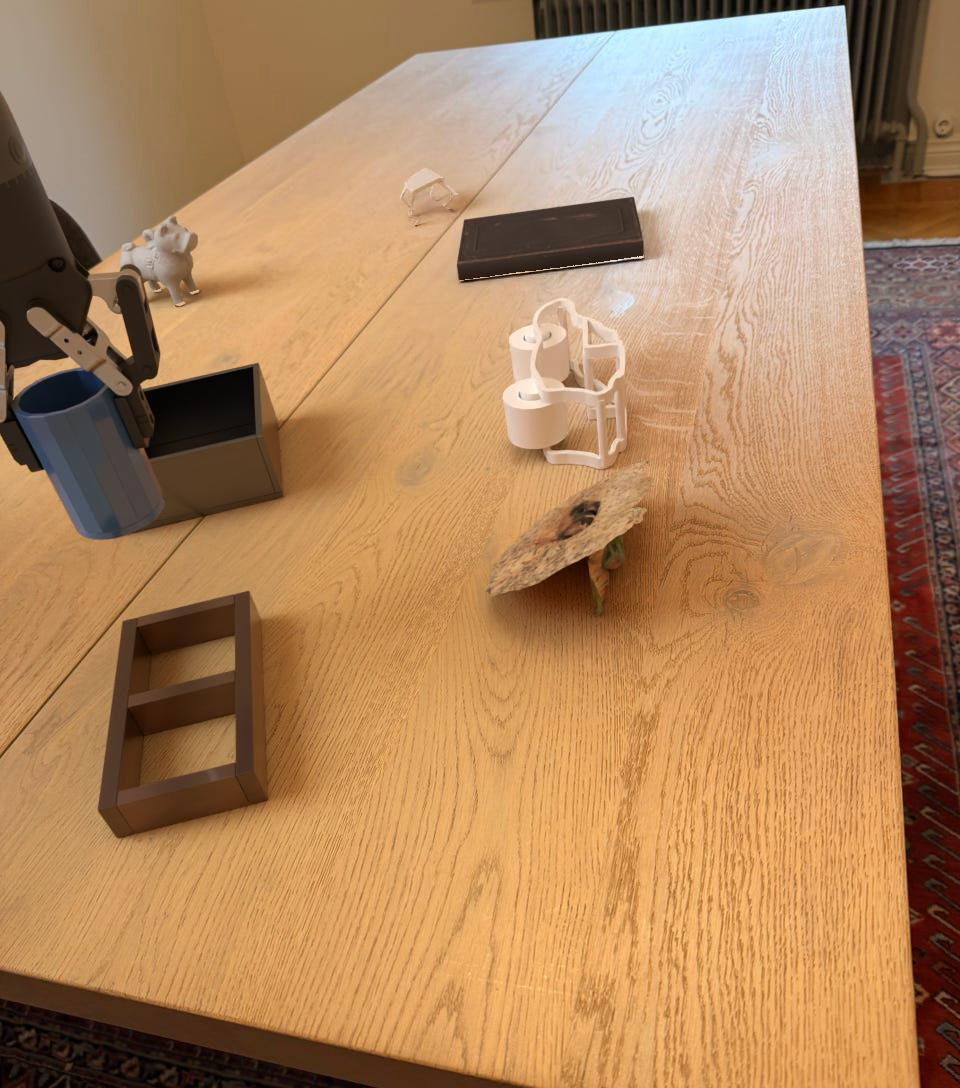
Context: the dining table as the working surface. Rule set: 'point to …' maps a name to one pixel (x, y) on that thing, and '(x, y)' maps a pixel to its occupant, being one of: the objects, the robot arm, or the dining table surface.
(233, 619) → the rack
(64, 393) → the cup
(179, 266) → the dog figurine
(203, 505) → the open box
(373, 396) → the dining table surface
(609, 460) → the toilet paper holder
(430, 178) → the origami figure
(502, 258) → the hardcover book
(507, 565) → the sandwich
